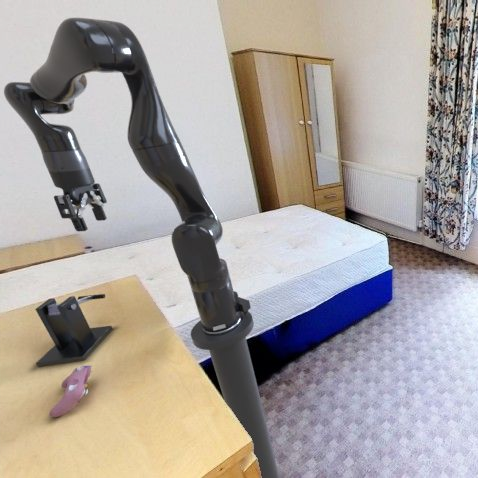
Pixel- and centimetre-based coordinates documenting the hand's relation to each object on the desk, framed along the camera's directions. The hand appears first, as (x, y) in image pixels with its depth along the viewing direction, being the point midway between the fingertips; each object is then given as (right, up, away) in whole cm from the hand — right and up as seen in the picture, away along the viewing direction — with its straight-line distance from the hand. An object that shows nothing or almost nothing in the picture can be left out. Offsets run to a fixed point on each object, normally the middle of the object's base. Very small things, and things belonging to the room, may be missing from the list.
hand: (92, 225), depth 90 cm
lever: (+3, -22, -7) cm, 23 cm away
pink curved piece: (+18, -38, -20) cm, 47 cm away
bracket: (+4, -32, -7) cm, 33 cm away
